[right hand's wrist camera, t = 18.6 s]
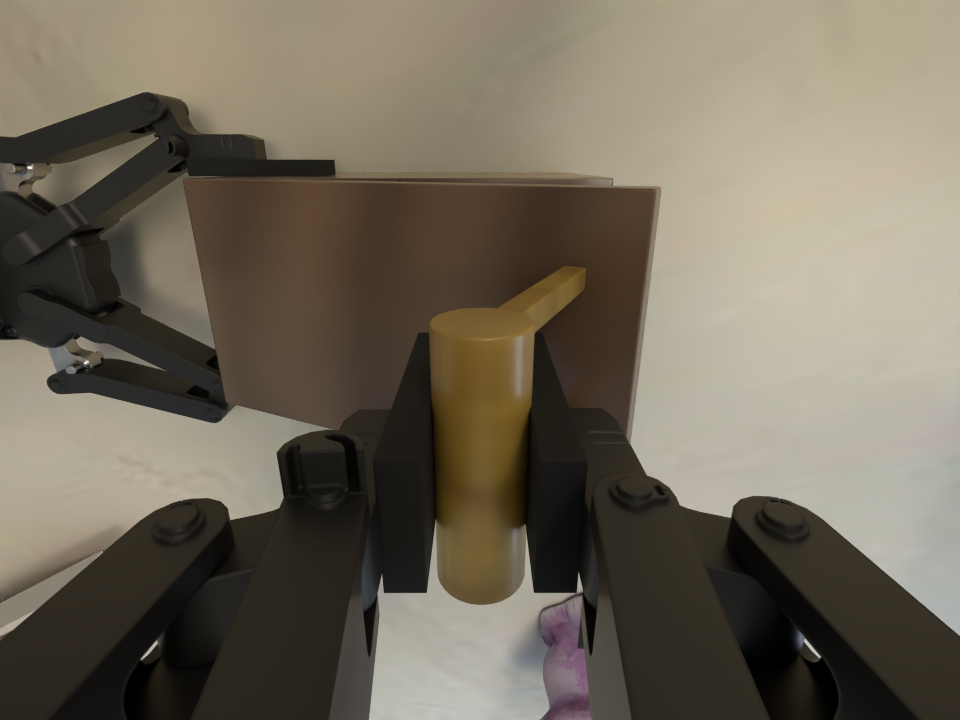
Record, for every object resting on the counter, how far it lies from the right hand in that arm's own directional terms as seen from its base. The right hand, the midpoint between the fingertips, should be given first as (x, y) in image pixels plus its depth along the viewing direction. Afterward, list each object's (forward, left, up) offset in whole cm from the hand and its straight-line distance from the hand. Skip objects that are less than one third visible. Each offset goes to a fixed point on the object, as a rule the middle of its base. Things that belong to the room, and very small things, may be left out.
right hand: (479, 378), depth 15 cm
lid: (+2, -3, -6) cm, 7 cm away
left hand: (+4, -7, -15) cm, 17 cm away
